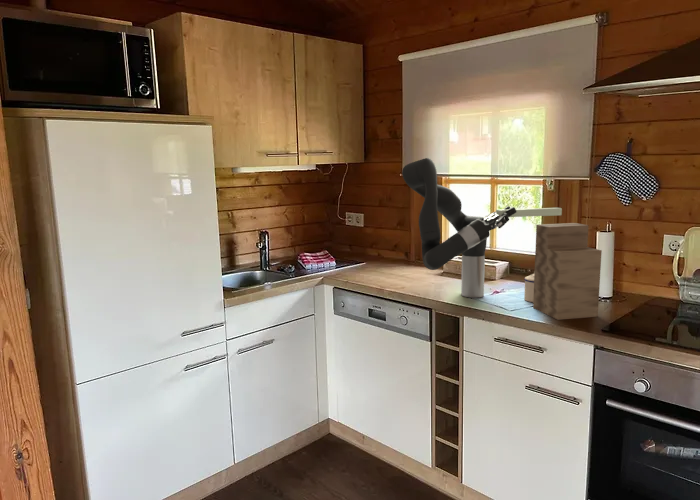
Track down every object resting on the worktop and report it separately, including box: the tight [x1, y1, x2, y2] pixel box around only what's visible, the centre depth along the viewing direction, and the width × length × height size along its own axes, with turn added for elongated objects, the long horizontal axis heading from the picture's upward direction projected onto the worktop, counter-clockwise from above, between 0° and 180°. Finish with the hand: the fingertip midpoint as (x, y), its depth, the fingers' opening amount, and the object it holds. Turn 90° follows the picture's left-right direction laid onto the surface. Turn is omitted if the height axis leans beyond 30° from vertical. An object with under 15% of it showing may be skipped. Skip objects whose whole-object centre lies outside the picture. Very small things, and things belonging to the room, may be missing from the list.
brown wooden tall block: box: [532, 222, 603, 320], centre depth 194 cm, size 16×16×32 cm
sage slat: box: [495, 207, 563, 218], centre depth 190 cm, size 3×24×2 cm, turn 101°
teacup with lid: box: [523, 271, 535, 303], centre depth 214 cm, size 12×9×12 cm
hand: (512, 208), depth 189 cm, fingers closed on sage slat, 3 cm apart
